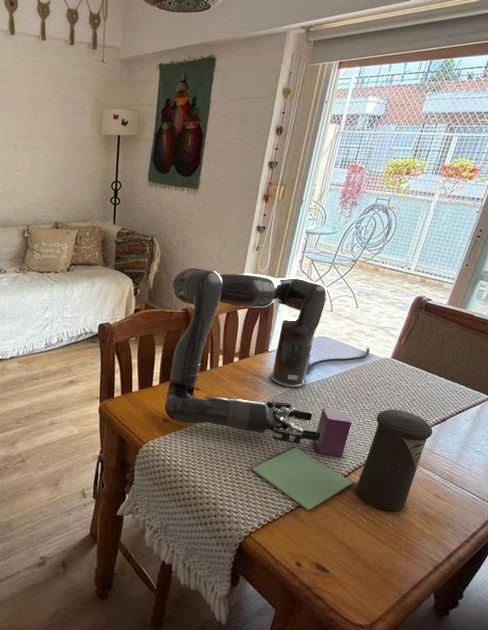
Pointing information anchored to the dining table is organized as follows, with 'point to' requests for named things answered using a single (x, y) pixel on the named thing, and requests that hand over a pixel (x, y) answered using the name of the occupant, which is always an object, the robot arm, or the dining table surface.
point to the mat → (302, 478)
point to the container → (393, 459)
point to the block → (333, 432)
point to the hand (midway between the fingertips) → (315, 425)
